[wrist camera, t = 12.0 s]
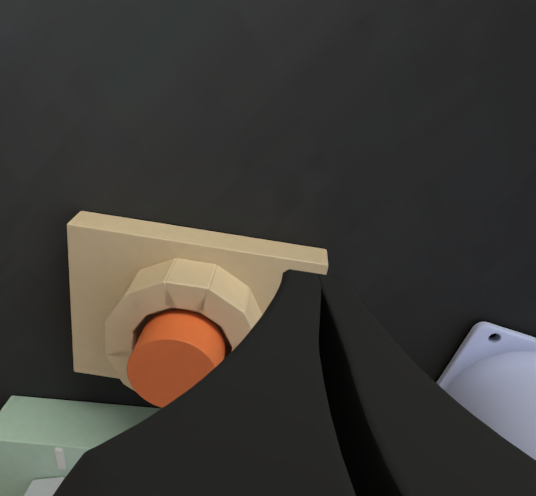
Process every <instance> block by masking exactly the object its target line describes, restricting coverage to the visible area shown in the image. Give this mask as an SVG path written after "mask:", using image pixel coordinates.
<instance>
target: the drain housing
mask: <svg viewBox="0 0 536 496" xmlns="http://www.w3.org/2000/svg"><path fill="white" fill-rule="evenodd" d="M67 240H68V261H69V281H70V302H71V323H72V343H73V364H74V372H80V373H87V374H93V375H100V376H106V377H113V378H119V379H121V381H122V382H123V384H124V385H126V386H127V387H129V388H131V389H132V390H134V388H133V387H132V385H131V384H130V381H129V379H128V375H127V363H128V359H129V357H130V355H131V353H132V351H133V349H134V347H135V345H136V343H137V341H138V339H139V337H140V335H141V333H142V330H143V328H144V326H145V325H146V324H147V322H148V321H149V320H150V319H151V318H153V317H154V316H156V315H158V314H160V313H162V312H165V311H169V310H187V311H192V312H195V313H198V314H200V315H202V316H204V317H206V318H208V319H209V320H210V321H212V322H213V323H214V324H215V325H216V326H217V328H218V329H219V330H220V332H221V333H222V336H223V338H224V341H225V347H226V349H225V356H224V359H225V358H226V357H227V356H228V355H229V354H230V353H231V352H232V351H233V350H234V349H235V348H236V347H237V346H238V345H239V343H240V342H241V341H242V340H243V339H244V338H245V337H246V335H247V334H248V333H249V332H250V330H251V329H252V328H253V327H254V325H255V324H256V323H257V322H258V320H259V319H260V318H261V316H262V315H263V313H264V312H265V310H266V309H267V307H268V306H269V304H270V303H271V301H272V299H273V298H274V296H275V294H276V292H277V290H278V288H279V286H280V284H281V280H282V275H283V272H285V271H287V270H288V269H292V270H298V271H305V272H311V273H318V274H324V275H326V274H327V270H328V257H327V250H326V249H321V248H315V247H309V246H302V245H296V244H290V243H283V242H277V241H271V240H264V239H258V238H251V237H245V236H239V235H232V234H226V233H220V232H213V231H207V230H201V229H194V228H188V227H182V226H175V225H169V224H163V223H156V222H150V221H143V220H137V219H131V218H124V217H118V216H112V215H105V214H99V213H93V212H86V211H80V212H79V213H78V214H77V215H76V216H75V217H74V218H73V219H72V220H71V221H70V222H68V223H67ZM134 391H135V390H134Z"/></svg>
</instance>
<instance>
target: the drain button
mask: <svg viewBox="0 0 536 496" xmlns="http://www.w3.org/2000/svg"><path fill="white" fill-rule="evenodd" d="M225 349H226V347H225V341H224V338H223V336H222V333H221V332H220V330H219V329H218V328H217V326H216V325H215V324H214V323H213V322H212V321H210V320H209V319H208V318H206V317H204V316H202V315H200V314H198V313H195V312H192V311H187V310H169V311H165V312H162V313H160V314H158V315H156V316H154V317H153V318H151V319H150V320H149V321H148V322H147V324H146V325H145V326H144V328H143V330H142V333H141V335H140V337H139V339H138V341H137V343H136V345H135V347H134V349H133V351H132V353H131V355H130V357H129V359H128V363H127V375H128V379H129V381H130V384H131V385H132V387H133V388H134V390H135V391H136V392H137V393H138V394H139V395H140V396H141V397H142V398H143V399H145V400H146V401H148V402H149V403H151V404H153V405H156V406H158V407H161V408H163V407H164V406H166V405H167V404H169V403H170V402H172V401H173V400H175V399H176V398H178V397H179V396H181V395H182V394H183V393H185V392H186V391H188V390H189V389H190V388H191V387H193V386H194V385H195V384H197V383H198V382H199V381H200V380H201V379H203V378H204V377H205V376H206V375H207V374H208V373H209V372H211V371H212V370H213V369H214V368H215V367H216V366H218V365H219V364H220V363H221V362H222V361H223V360H224V356H225Z"/></svg>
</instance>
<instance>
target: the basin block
mask: <svg viewBox="0 0 536 496" xmlns="http://www.w3.org/2000/svg"><path fill="white" fill-rule="evenodd" d="M160 409H162V408H151V407H140V406H128V405H117V404H105V403H94V402H83V401H71V400H60V399H48V398H37V397H25V396H14V395H12V396H11V397H10V398H9V400H8V401H7V402H6V404H5V405H4V406H3V408H2V409H1V410H0V496H24V494H25V493H26V491H27V489H28V487H29V485H30V484H31V482H32V480H35V479H44V478H54V477H64V478H65V477H66V476H67V475H68V473H69V472H70V471H71V469H72V468H73V467H74V465H75V464H76V463H77V461H78V460H79V459H80V457H81V456H82V455H83V454H84V452H86V451H88V450H90V449H92V448H94V447H96V446H98V445H100V444H102V443H104V442H105V441H107V440H109V439H111V438H113V437H115V436H116V435H118V434H120V433H122V432H124V431H126V430H127V429H129V428H131V427H133V426H135V425H137V424H138V423H140V422H142V421H143V420H145V419H146V418H148V417H150V416H151V415H153V414H154V413H156V412H157V411H159V410H160Z"/></svg>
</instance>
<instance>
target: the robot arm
mask: <svg viewBox="0 0 536 496" xmlns="http://www.w3.org/2000/svg"><path fill="white" fill-rule="evenodd" d="M494 333H496V334H497V335H496V336H494V337H489V336H490V335H491V334H494ZM53 496H536V338H535V337H532V336H529V335H526V334H523V333H520V332H517V331H513V330H510V329H507V328H504V327H501V326H498V325H495V324H492V323H489V322H479V323H477V324H475V325H474V326H473V327H472V329H471V330H470V332H469V333H468V335H467V336H466V338H465V339H464V341H463V342H462V344H461V345H460V347H459V349H458V350H457V352H456V353H455V355H454V356H453V358H452V359H451V361H450V362H449V364H448V365H447V367H446V368H445V370H444V372H443V373H442V375H441V376H440V378H439V379H438V381H437V382H435V381H434V380H432V379H431V378H430V377H429V376H428V375H427V374H426V373H425V372H424V371H423V370H422V369H421V368H420V367H419V366H418V365H417V364H416V363H415V362H414V361H413V360H412V359H411V358H410V357H409V356H408V355H407V354H406V352H405V351H404V350H403V349H402V348H401V347H400V346H399V345H398V344H397V343H396V342H395V340H394V339H393V338H392V337H391V336H390V335H389V334H388V332H387V331H386V330H385V329H384V328H383V326H382V325H381V324H380V323H379V322H378V320H377V319H376V318H375V317H374V315H373V314H372V313H371V311H370V310H369V309H368V308H367V306H366V305H365V304H364V302H363V301H362V300H361V298H360V297H359V296H358V294H357V293H356V292H355V290H354V289H353V288H352V286H351V285H350V284H349V282H348V281H347V280H346V279H345V278H343V277H337V276H330V275H324V274H318V273H311V272H305V271H298V270H292V269H288V270H287V271H285V272H283V275H282V280H281V284H280V286H279V288H278V290H277V292H276V294H275V296H274V298H273V299H272V301H271V303H270V304H269V306H268V307H267V309H266V310H265V312H264V313H263V315H262V316H261V318H260V319H259V320H258V322H257V323H256V324H255V325H254V327H253V328H252V329H251V330H250V332H249V333H248V334H247V335H246V337H245V338H244V339H243V340H242V341H241V342H240V343H239V345H238V346H237V347H236V348H235V349H234V350H233V351H232V352H231V353H230V354H229V355H228V356H227V357H226V358H225V359H224V360H223V361H222V362H221V363H220V364H219V365H218V366H216V367H215V368H214V369H213V370H212V371H211V372H209V373H208V374H207V375H206V376H205V377H204V378H203V379H201V380H200V381H199V382H198V383H197V384H195V385H194V386H193V387H191V388H190V389H189V390H188V391H186V392H185V393H183V394H182V395H181V396H179V397H178V398H176V399H175V400H173V401H172V402H170V403H169V404H167V405H166V406H164V407H163V408H162V409H160V410H159V411H157V412H156V413H154V414H153V415H151V416H150V417H148V418H146V419H145V420H143V421H142V422H140V423H138V424H137V425H135V426H133V427H131V428H129V429H127V430H126V431H124V432H122V433H120V434H118V435H116V436H115V437H113V438H111V439H109V440H107V441H105V442H104V443H102V444H100V445H98V446H96V447H94V448H92V449H90V450H88V451H86V452H84V454H83V455H82V456H81V457H80V459H79V460H78V461H77V463H76V464H75V465H74V467H73V468H72V469H71V471H70V472H69V473H68V475H67V476H66V477H65V479H64V480H63V481H62V483H61V484H60V486H59V487H58V489H57V490H56V491H55V493H54V494H53Z"/></svg>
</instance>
